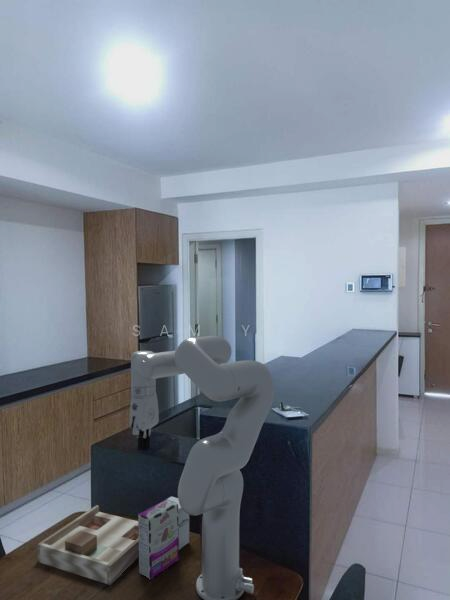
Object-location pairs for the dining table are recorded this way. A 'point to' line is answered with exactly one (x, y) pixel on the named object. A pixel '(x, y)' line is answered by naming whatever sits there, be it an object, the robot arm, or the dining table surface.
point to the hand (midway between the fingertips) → (143, 449)
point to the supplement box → (182, 524)
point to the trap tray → (110, 546)
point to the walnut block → (82, 543)
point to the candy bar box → (158, 538)
